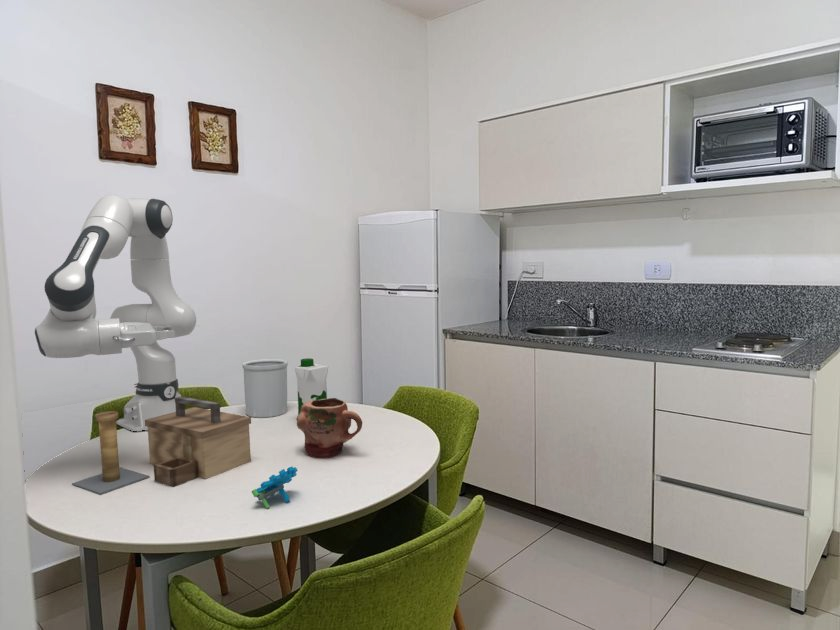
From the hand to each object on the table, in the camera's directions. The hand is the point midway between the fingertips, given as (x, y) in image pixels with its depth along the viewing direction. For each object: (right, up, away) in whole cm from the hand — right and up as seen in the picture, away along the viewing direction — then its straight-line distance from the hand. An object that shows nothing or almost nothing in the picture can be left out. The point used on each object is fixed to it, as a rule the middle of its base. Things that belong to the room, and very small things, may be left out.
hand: (173, 331), depth 152 cm
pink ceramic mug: (+40, -33, +5) cm, 52 cm away
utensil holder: (+12, -29, +48) cm, 58 cm away
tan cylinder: (-9, -35, -12) cm, 38 cm away
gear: (+33, -36, -25) cm, 55 cm away
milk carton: (+30, -30, +36) cm, 56 cm away
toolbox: (+6, -34, -3) cm, 35 cm away
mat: (-9, -35, -12) cm, 39 cm away
